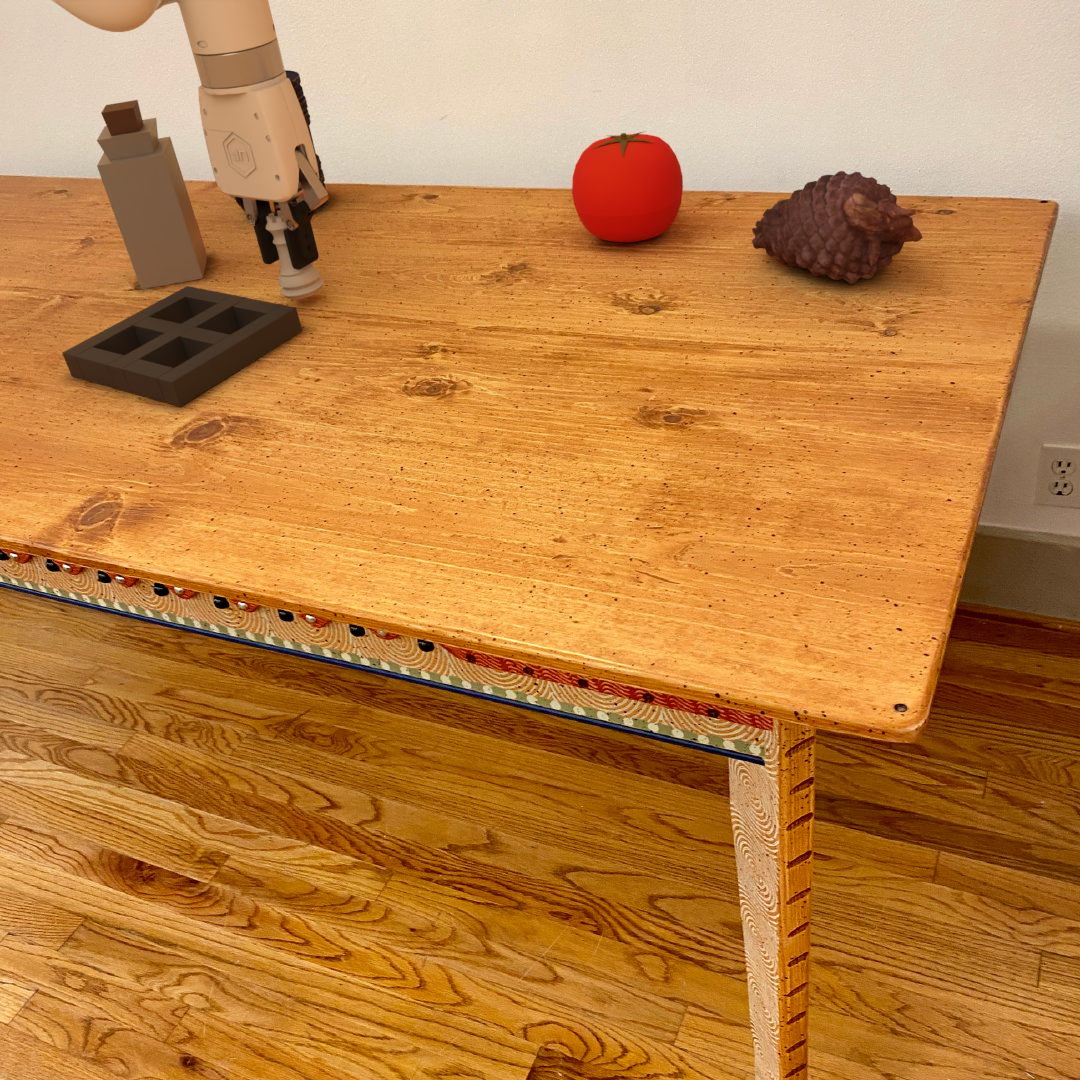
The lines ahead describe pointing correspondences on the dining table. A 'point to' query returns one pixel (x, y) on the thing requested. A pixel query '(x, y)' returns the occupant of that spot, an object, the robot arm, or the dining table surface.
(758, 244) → the pine cone
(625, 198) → the tomato
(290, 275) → the rook chess piece
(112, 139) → the perfume bottle
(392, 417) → the dining table surface
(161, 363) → the holder
